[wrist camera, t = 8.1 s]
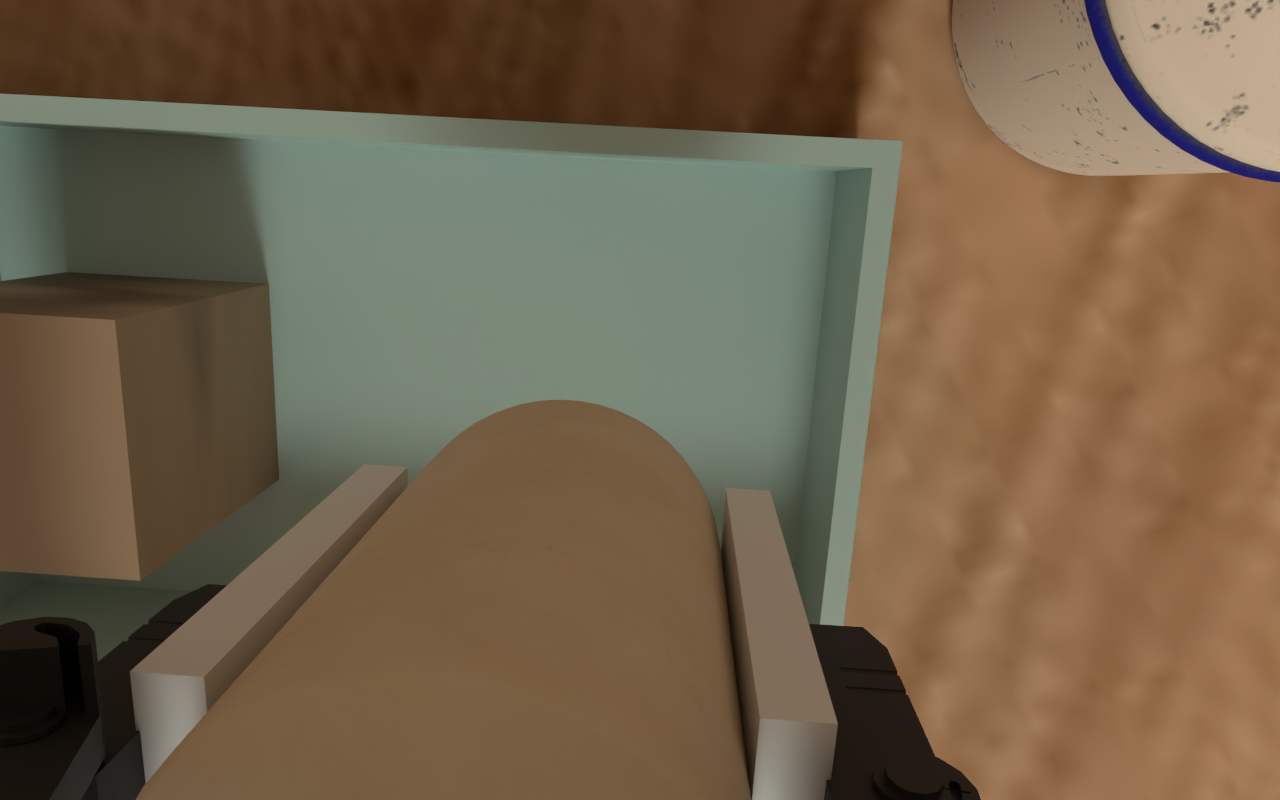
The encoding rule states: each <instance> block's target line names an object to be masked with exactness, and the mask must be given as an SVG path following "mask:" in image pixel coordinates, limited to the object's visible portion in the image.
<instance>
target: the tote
mask: <svg viewBox="0 0 1280 800" xmlns="http://www.w3.org/2000/svg"><path fill="white" fill-rule="evenodd" d="M902 144H903V141H890V140H871V139H852V138H833V137H814V136H795V135H776V134H757V133H738V132H719V131H700V130H681V129H662V128H643V127H625V126H606V125H587V124H568V123H549V122H530V121H511V120H492V119H473V118H454V117H435V116H416V115H397V114H378V113H359V112H341V111H322V110H303V109H284V108H265V107H246V106H227V105H208V104H189V103H170V102H151V101H132V100H113V99H94V98H76V97H57V96H38V95H19V94H0V281H5V280H12V279H20V278H27V277H34V276H41V275H49V274H56V273H63V272H75V273H92V274H109V275H126V276H143V277H160V278H177V279H194V280H211V281H228V282H246V283H263V284H269V295H270V314H271V333H272V352H273V371H274V390H275V409H276V428H277V447H278V466H279V480H277V481H276V482H275V483H273V484H272V485H271V486H269V487H268V488H266V489H265V490H264V491H262V492H261V493H260V494H258V495H257V496H256V497H254V498H253V499H251V500H250V501H249V502H247V503H246V504H245V505H243V506H242V507H240V508H239V509H238V510H236V511H235V512H234V513H232V514H231V515H230V516H228V517H227V518H225V519H224V520H223V521H221V522H220V523H219V524H217V525H216V526H214V527H213V528H212V529H210V530H209V531H208V532H206V533H205V534H204V535H202V536H201V537H199V538H198V539H197V540H195V541H194V542H193V543H191V544H190V545H188V546H187V547H186V548H184V549H183V550H182V551H180V552H179V553H178V554H176V555H175V556H173V557H172V558H171V559H169V560H168V561H167V562H165V563H164V564H162V565H161V566H160V567H158V568H157V569H156V570H154V571H153V572H152V573H150V574H149V575H147V576H146V577H145V578H143V579H142V580H141V581H137V580H123V579H108V578H94V577H79V576H65V575H50V574H36V573H22V572H7V571H0V625H2V624H5V623H9V622H13V621H18V620H25V619H33V618H40V617H65V618H72V619H76V620H79V621H82V622H86V623H87V624H88V625H89V626H90V627H91V628H92V630H93V631H94V632H95V640H96V648H97V657H98V661H99V660H101V659H102V658H103V657H104V656H106V655H107V654H108V653H109V652H110V651H112V650H113V649H114V648H115V647H117V646H118V645H119V644H120V643H121V642H123V641H128V637H129V636H130V635H131V634H132V633H134V632H135V631H136V630H137V629H139V628H140V627H141V626H142V625H143V624H148V622H149V620H150V619H151V618H152V617H153V616H154V615H156V614H157V613H158V612H159V611H161V610H162V609H163V608H164V607H165V606H167V605H168V604H169V603H170V602H172V601H173V600H175V599H177V598H179V597H181V596H183V595H186V594H188V593H190V592H192V591H194V590H196V589H199V588H201V587H203V586H205V585H207V584H216V585H228V584H229V583H230V582H232V581H233V580H234V579H235V578H236V577H237V576H238V575H240V574H241V573H242V572H243V571H244V570H245V569H246V568H247V567H249V566H250V565H251V564H252V563H253V562H254V561H255V560H256V559H258V558H259V557H260V556H261V555H262V554H263V553H264V552H266V551H267V550H268V549H269V548H270V547H271V546H272V545H273V544H275V543H276V542H277V541H278V540H279V539H280V538H281V537H283V536H284V535H285V534H286V533H287V532H288V531H289V530H290V529H292V528H293V527H294V526H295V525H296V524H297V523H298V522H299V521H301V520H302V519H303V518H304V517H305V516H306V515H307V514H309V513H310V512H311V511H312V510H313V509H314V508H315V507H316V506H318V505H319V504H320V503H321V502H322V501H323V500H324V499H325V498H327V497H328V496H329V495H330V494H331V493H332V492H333V491H335V490H336V489H337V488H338V487H339V486H340V485H341V484H342V483H344V482H345V481H346V480H347V479H348V478H349V477H350V476H352V475H353V474H354V473H355V472H356V471H357V470H358V469H359V468H361V467H362V466H363V465H364V464H372V465H387V466H403V467H407V470H408V486H409V485H410V484H411V482H412V481H413V480H414V479H415V478H416V477H417V476H418V475H419V473H420V472H421V471H422V470H423V469H424V468H425V467H426V466H427V464H428V463H429V462H430V461H431V460H432V459H433V458H434V457H435V456H436V455H437V454H438V453H439V452H440V451H441V450H442V449H443V448H444V447H445V446H446V445H447V444H448V443H449V442H451V441H452V440H453V439H454V438H455V437H456V436H457V435H458V434H459V433H461V432H462V431H464V430H465V429H467V428H468V427H470V426H471V425H473V424H474V423H476V422H478V421H480V420H482V419H484V418H486V417H488V416H490V415H492V414H494V413H496V412H499V411H502V410H505V409H507V408H510V407H513V406H516V405H520V404H525V403H530V402H535V401H544V400H574V401H583V402H588V403H593V404H598V405H602V406H605V407H608V408H611V409H614V410H617V411H620V412H622V413H624V414H626V415H628V416H630V417H633V418H635V419H637V420H639V421H640V422H642V423H643V424H645V425H646V426H648V427H650V428H651V429H653V430H654V431H656V432H657V433H658V434H659V435H660V436H662V437H663V438H664V439H665V440H666V441H668V442H669V443H670V444H671V445H672V446H673V447H674V448H675V449H676V451H677V452H678V453H679V454H680V455H681V456H682V457H683V458H684V460H685V461H686V462H687V464H688V465H689V467H690V468H691V469H692V471H693V472H694V474H695V475H696V477H697V478H698V480H699V482H700V484H701V486H702V488H703V490H704V492H705V493H706V495H707V498H708V500H709V503H710V506H711V509H712V512H713V514H714V518H715V523H716V528H717V533H718V539H719V544H720V550H721V539H722V527H723V515H724V503H725V491H726V488H738V489H753V490H768V491H770V493H771V496H772V500H773V503H774V507H775V510H776V513H777V517H778V520H779V524H780V527H781V531H782V534H783V537H784V541H785V544H786V548H787V551H788V555H789V558H790V561H791V565H792V568H793V572H794V575H795V579H796V582H797V585H798V589H799V592H800V596H801V599H802V603H803V606H804V609H805V613H806V616H807V620H808V623H809V624H821V625H836V626H843V625H844V617H845V609H846V601H847V593H848V584H849V576H850V568H851V560H852V552H853V544H854V536H855V527H856V519H857V511H858V503H859V495H860V487H861V479H862V470H863V462H864V454H865V446H866V438H867V430H868V421H869V413H870V405H871V397H872V389H873V381H874V373H875V364H876V356H877V348H878V340H879V332H880V324H881V315H882V307H883V299H884V291H885V283H886V275H887V267H888V258H889V250H890V242H891V234H892V226H893V218H894V210H895V201H896V193H897V185H898V177H899V169H900V161H901V152H902Z"/></svg>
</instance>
